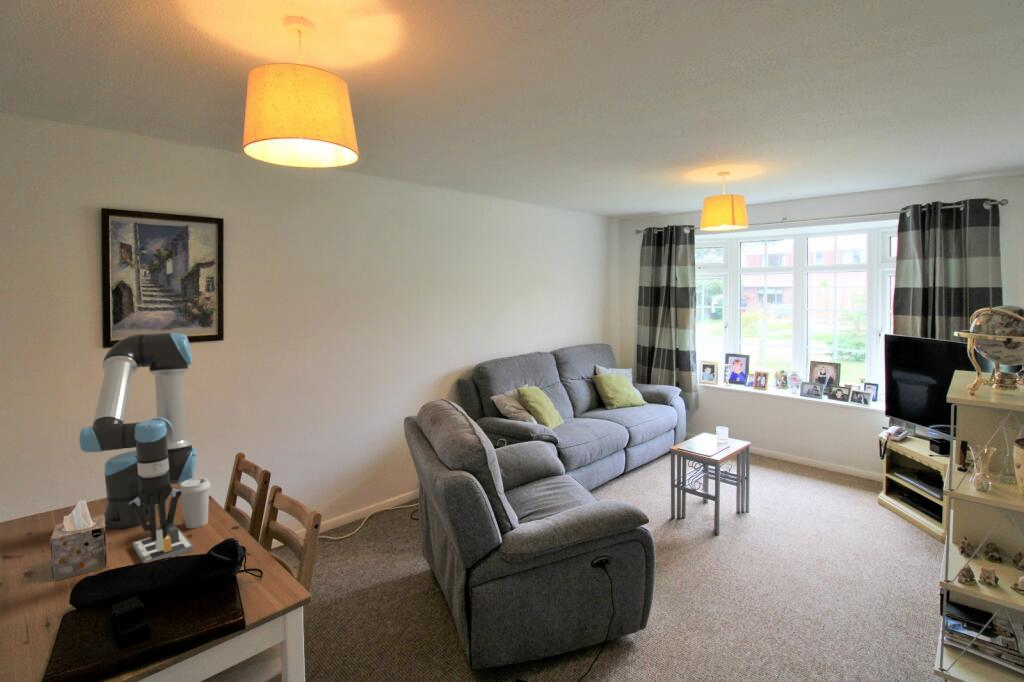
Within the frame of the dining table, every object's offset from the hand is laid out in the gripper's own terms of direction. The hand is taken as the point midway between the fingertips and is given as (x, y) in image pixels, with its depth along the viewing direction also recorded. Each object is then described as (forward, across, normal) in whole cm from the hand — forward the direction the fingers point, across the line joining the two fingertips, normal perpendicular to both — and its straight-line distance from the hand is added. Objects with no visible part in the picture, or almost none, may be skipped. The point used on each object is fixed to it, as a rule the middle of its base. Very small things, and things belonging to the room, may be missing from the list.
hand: (159, 549), depth 153 cm
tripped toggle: (+1, +2, 0) cm, 2 cm away
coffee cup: (+3, +14, +17) cm, 22 cm away
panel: (+3, +2, +6) cm, 7 cm away
